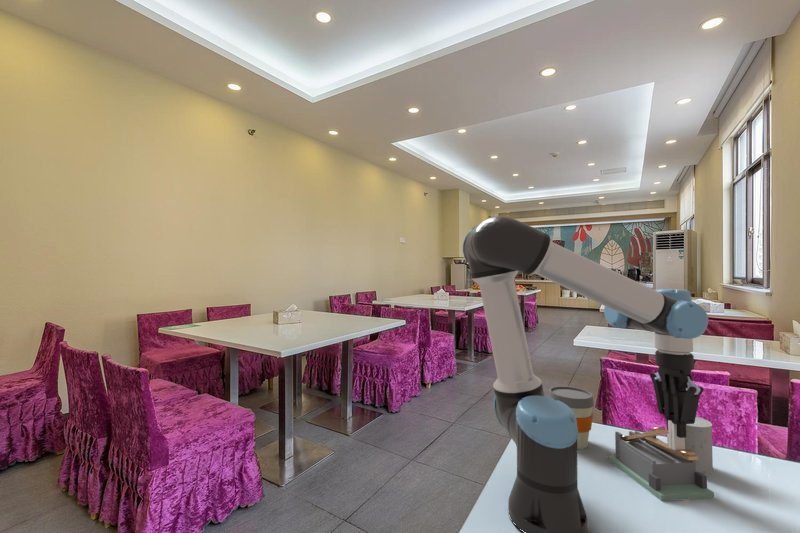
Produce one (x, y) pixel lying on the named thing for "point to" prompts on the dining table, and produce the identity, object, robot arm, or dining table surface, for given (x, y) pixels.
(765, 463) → the dining table surface
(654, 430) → the strap
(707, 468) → the gray concrete cylinder
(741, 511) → the dining table surface
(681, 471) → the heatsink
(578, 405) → the reusable coffee cup
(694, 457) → the strap
